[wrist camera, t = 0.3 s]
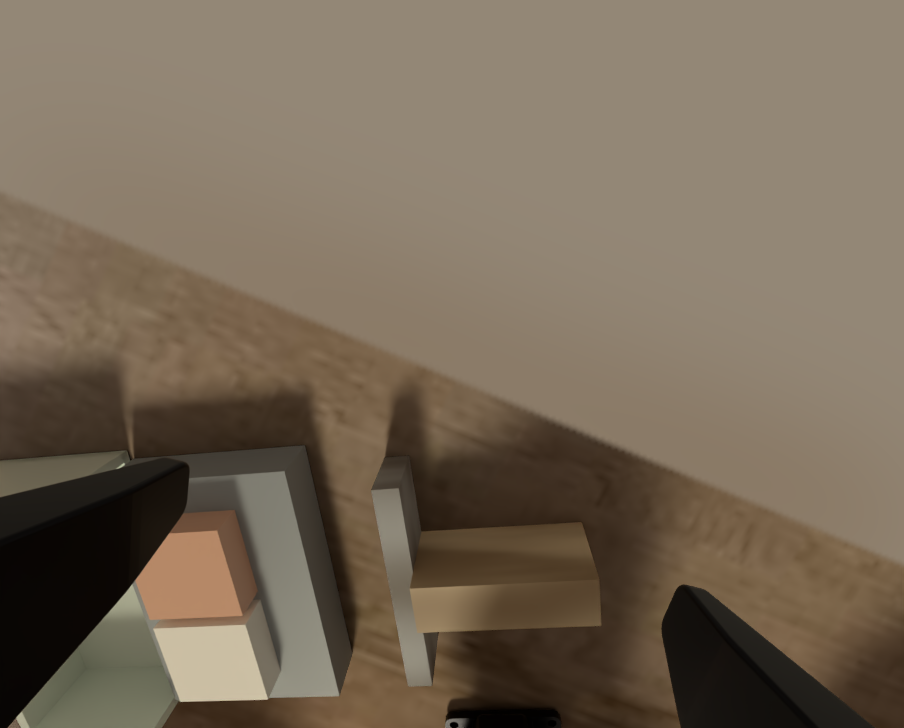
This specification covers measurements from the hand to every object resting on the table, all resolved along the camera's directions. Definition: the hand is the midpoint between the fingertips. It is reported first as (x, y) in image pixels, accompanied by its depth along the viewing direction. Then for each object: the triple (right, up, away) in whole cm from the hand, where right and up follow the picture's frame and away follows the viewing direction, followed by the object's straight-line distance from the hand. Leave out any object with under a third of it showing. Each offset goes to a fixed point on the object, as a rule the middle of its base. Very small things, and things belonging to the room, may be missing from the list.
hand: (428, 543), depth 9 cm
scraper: (+3, -6, +16) cm, 17 cm away
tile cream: (-11, -10, +15) cm, 22 cm away
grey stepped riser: (-10, -7, +17) cm, 21 cm away
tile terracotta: (-11, -6, +14) cm, 19 cm away
